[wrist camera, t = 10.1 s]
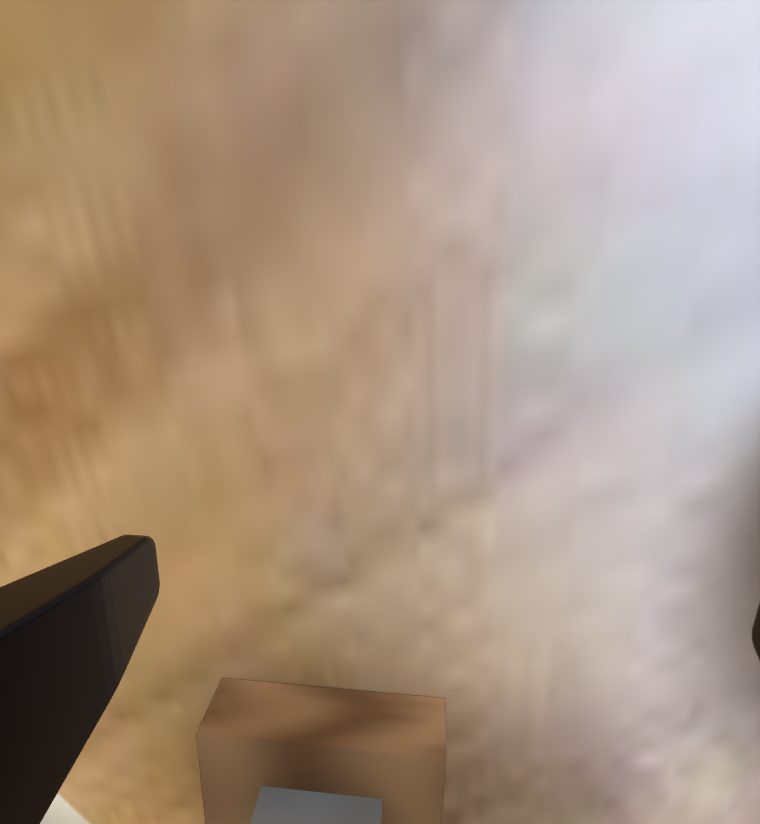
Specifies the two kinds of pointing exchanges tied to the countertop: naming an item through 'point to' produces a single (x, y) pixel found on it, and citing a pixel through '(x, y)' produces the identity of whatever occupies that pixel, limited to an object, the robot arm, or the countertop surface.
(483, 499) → the countertop surface
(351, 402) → the countertop surface
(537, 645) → the countertop surface
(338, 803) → the blue-grey squarish block
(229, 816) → the base block
